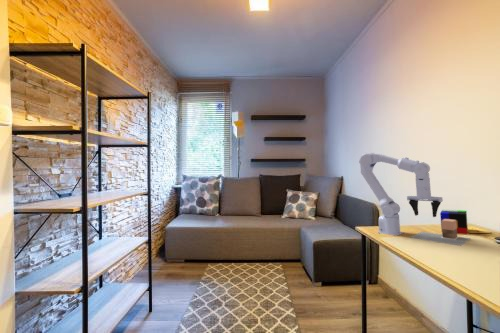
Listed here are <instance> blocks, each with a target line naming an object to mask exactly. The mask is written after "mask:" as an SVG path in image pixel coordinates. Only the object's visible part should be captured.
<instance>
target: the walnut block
mask: <svg viewBox="0 0 500 333" xmlns="http://www.w3.org/2000/svg"><path fill="white" fill-rule="evenodd" d="M441 233H442V236H443V238H450V239H455V238H457V237H458V233H457V229H455V230H446V229H442V230H441Z"/></svg>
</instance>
